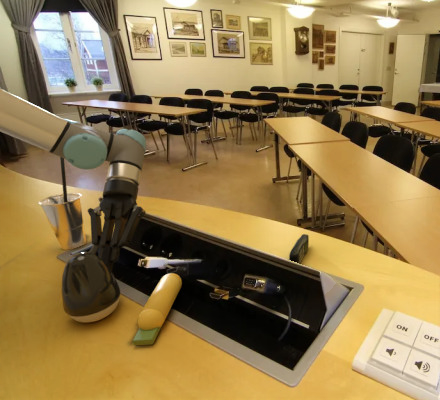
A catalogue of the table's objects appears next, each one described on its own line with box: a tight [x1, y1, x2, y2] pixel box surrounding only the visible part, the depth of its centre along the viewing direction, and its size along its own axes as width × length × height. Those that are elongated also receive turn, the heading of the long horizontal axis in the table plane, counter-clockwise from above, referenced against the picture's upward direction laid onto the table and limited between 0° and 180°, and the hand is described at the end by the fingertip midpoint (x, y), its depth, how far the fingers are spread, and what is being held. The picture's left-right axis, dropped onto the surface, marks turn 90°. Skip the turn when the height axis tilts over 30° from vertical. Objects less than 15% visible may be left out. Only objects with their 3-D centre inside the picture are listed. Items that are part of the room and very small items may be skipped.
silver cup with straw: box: [37, 156, 87, 251], centre depth 95 cm, size 11×11×30 cm
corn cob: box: [132, 272, 183, 346], centre depth 70 cm, size 5×20×5 cm, turn 6°
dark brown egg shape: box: [60, 245, 122, 324], centre depth 68 cm, size 10×10×15 cm
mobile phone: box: [288, 233, 310, 264], centre depth 93 cm, size 5×3×15 cm
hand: (104, 275), depth 74 cm, fingers closed
